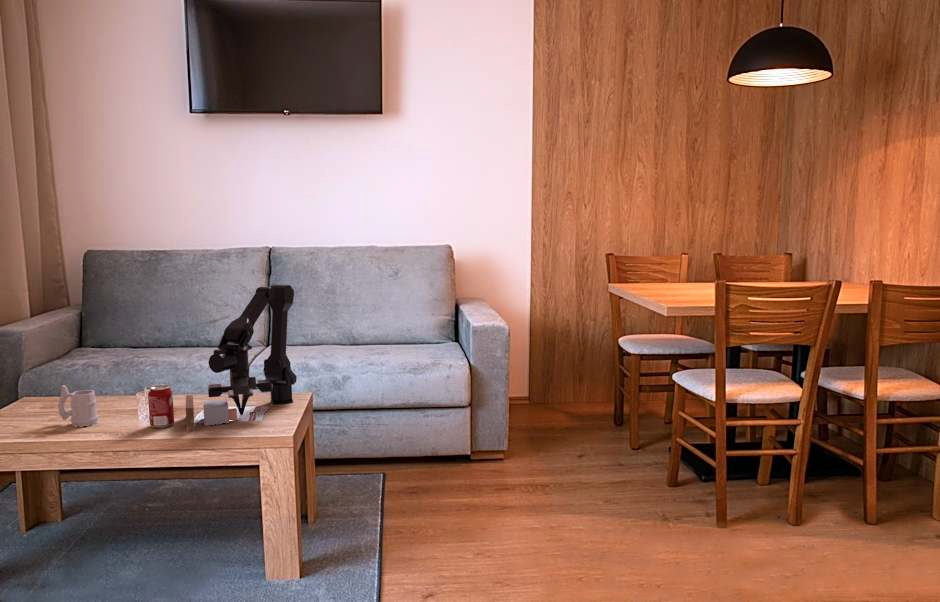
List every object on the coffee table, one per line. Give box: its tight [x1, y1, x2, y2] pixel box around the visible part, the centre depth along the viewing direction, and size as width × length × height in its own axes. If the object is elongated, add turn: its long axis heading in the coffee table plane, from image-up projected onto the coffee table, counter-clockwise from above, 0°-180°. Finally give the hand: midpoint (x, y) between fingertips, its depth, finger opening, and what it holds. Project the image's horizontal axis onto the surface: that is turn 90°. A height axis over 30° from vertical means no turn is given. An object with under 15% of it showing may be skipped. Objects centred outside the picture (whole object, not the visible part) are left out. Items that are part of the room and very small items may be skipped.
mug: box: [57, 384, 100, 428], centre depth 220 cm, size 8×12×12 cm, turn 87°
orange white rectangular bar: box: [228, 407, 238, 421], centre depth 222 cm, size 8×3×3 cm, turn 111°
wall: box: [185, 394, 195, 432], centre depth 219 cm, size 2×16×7 cm, turn 21°
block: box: [202, 398, 230, 427], centre depth 222 cm, size 7×9×5 cm
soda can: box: [147, 384, 175, 429], centre depth 217 cm, size 7×7×12 cm
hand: (241, 415), depth 225 cm, fingers closed
